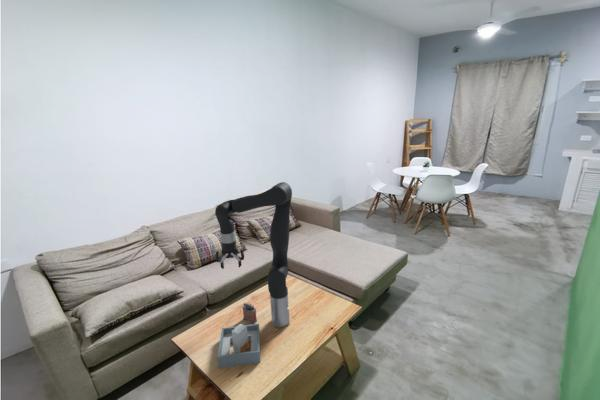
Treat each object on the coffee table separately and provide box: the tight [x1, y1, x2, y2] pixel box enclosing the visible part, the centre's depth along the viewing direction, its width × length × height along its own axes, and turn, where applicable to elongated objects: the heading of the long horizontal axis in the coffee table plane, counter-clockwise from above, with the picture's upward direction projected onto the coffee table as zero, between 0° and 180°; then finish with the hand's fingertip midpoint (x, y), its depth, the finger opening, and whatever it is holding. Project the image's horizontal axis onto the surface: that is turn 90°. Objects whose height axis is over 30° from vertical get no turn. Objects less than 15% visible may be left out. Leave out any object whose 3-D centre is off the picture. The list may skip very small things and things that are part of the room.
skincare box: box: [232, 323, 249, 353], centre depth 137 cm, size 6×4×12 cm
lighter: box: [242, 302, 258, 324], centre depth 157 cm, size 8×3×10 cm, turn 65°
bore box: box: [217, 323, 261, 369], centre depth 138 cm, size 18×18×6 cm
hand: (231, 267), depth 156 cm, fingers open, 8 cm apart
